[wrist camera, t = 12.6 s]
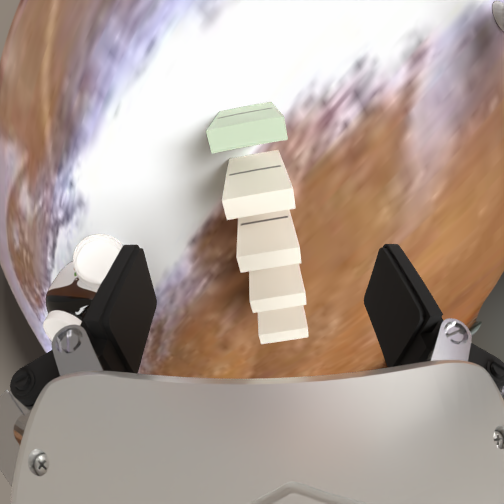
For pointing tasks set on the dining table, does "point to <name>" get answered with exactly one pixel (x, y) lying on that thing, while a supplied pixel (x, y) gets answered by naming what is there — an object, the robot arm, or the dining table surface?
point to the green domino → (246, 127)
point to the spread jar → (79, 282)
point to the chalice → (499, 13)
